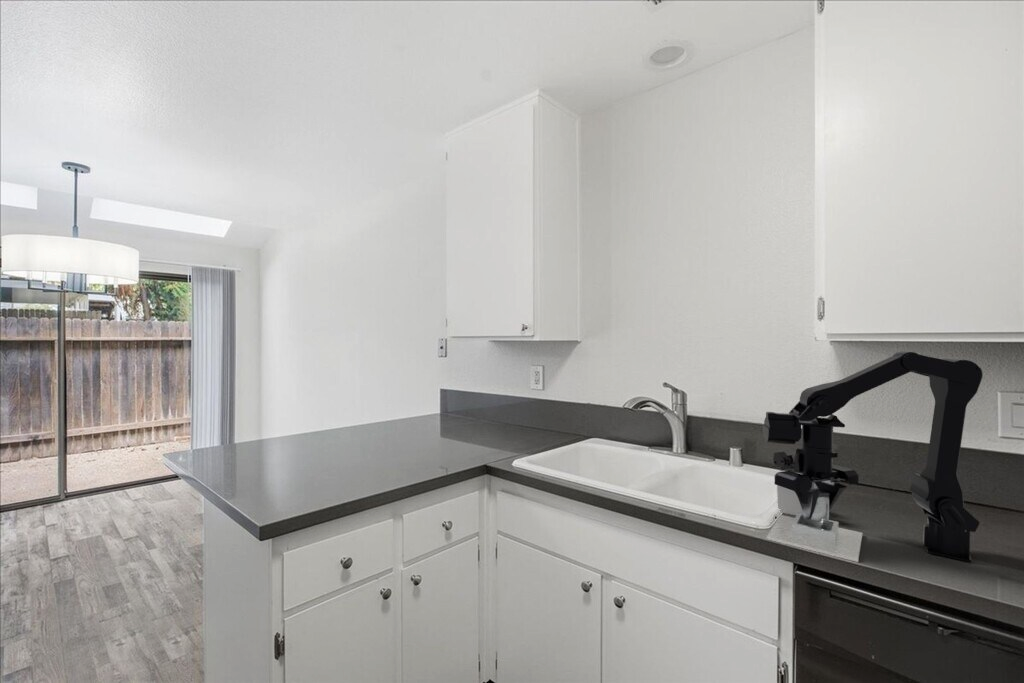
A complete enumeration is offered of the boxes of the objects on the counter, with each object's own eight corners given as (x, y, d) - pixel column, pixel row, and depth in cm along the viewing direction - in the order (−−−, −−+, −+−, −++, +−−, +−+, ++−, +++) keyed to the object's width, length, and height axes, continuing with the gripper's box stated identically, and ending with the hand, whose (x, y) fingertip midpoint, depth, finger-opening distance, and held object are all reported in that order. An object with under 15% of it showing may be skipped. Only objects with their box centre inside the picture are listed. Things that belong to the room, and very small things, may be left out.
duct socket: (862, 535, 105) (862, 521, 105) (858, 562, 92) (858, 545, 92) (780, 517, 115) (780, 504, 115) (766, 539, 102) (767, 524, 102)
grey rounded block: (823, 506, 121) (822, 470, 119) (815, 527, 114) (814, 489, 112) (787, 498, 127) (786, 464, 125) (778, 518, 119) (776, 482, 117)
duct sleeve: (813, 520, 106) (814, 486, 106) (833, 528, 102) (834, 493, 102) (798, 523, 105) (799, 489, 105) (818, 531, 100) (819, 495, 100)
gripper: (812, 435, 114) (811, 499, 114) (754, 440, 107) (753, 509, 108) (860, 445, 104) (859, 516, 104) (799, 452, 97) (797, 528, 97)
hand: (815, 516), depth 103 cm, fingers closed on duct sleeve, 4 cm apart
